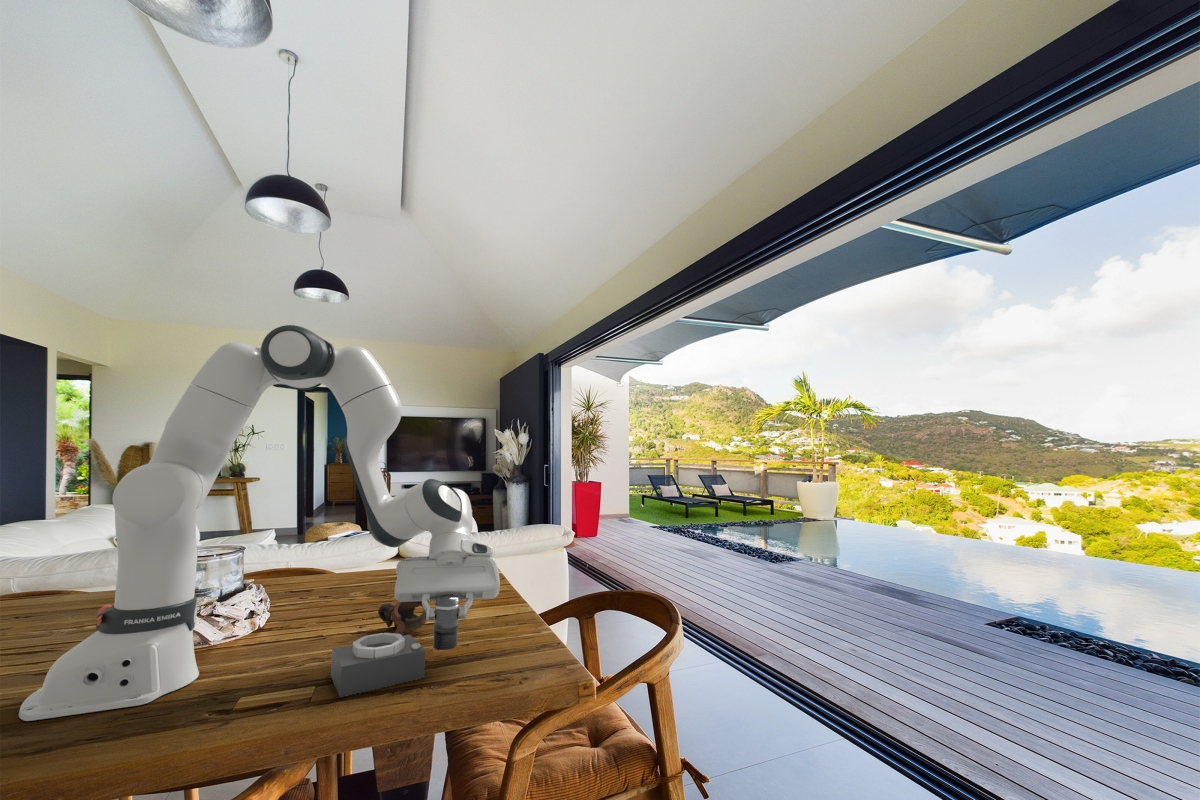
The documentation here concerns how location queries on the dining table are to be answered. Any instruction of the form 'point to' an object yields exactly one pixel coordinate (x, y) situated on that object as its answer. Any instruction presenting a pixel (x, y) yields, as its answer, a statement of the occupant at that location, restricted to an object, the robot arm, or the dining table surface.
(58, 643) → the dining table surface
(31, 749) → the dining table surface
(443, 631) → the lens
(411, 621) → the pottery mug
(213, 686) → the dining table surface
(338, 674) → the camera body
